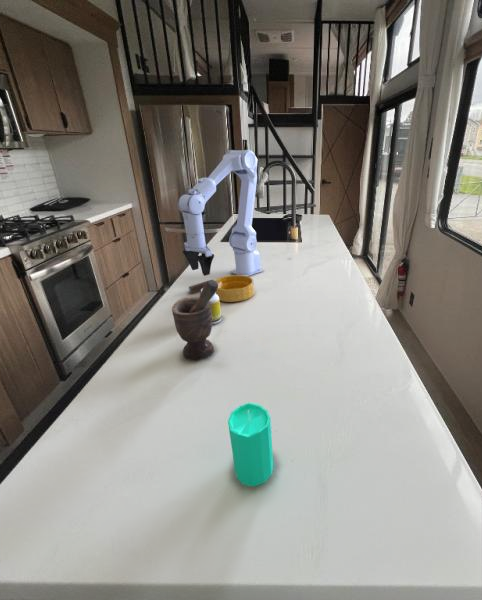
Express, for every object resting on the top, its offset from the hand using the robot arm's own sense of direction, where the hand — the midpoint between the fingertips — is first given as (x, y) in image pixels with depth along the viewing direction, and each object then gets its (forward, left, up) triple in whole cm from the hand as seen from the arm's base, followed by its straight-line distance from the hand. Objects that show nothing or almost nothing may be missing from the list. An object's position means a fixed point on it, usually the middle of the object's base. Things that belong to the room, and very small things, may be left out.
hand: (200, 272), depth 111 cm
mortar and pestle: (+20, +35, -7) cm, 41 cm away
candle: (+31, +68, -7) cm, 75 cm away
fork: (-3, 0, -6) cm, 7 cm away
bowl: (-5, +12, -6) cm, 15 cm away
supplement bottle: (+10, +22, -7) cm, 25 cm away
